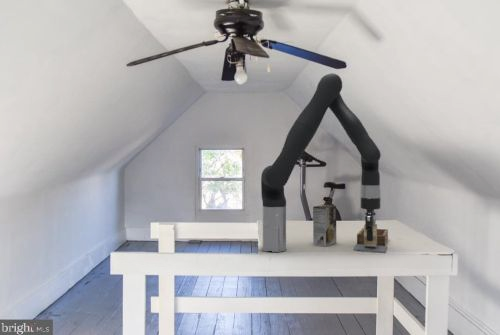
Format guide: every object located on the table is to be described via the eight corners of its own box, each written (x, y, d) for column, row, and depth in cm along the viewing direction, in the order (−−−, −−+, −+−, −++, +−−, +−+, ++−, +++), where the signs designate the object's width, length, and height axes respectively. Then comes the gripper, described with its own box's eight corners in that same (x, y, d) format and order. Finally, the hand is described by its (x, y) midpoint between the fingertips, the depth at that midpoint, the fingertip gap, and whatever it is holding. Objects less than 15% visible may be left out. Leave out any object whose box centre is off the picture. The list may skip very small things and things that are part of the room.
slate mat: (385, 253, 163) (385, 251, 163) (353, 250, 168) (353, 249, 168) (387, 247, 173) (387, 246, 173) (356, 245, 178) (356, 244, 178)
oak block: (375, 246, 168) (375, 225, 167) (364, 245, 169) (364, 225, 169) (376, 244, 172) (377, 224, 172) (365, 243, 173) (365, 223, 173)
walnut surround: (384, 247, 174) (384, 236, 174) (357, 245, 178) (357, 234, 178) (387, 239, 191) (387, 229, 191) (362, 238, 195) (362, 228, 195)
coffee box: (323, 241, 187) (323, 204, 186) (336, 243, 183) (336, 205, 182) (312, 244, 180) (312, 206, 179) (326, 246, 176) (326, 207, 175)
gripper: (362, 195, 178) (362, 236, 178) (358, 197, 165) (358, 242, 165) (381, 195, 175) (381, 237, 176) (378, 198, 162) (378, 243, 162)
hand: (370, 239), depth 170 cm, fingers closed on oak block, 4 cm apart
